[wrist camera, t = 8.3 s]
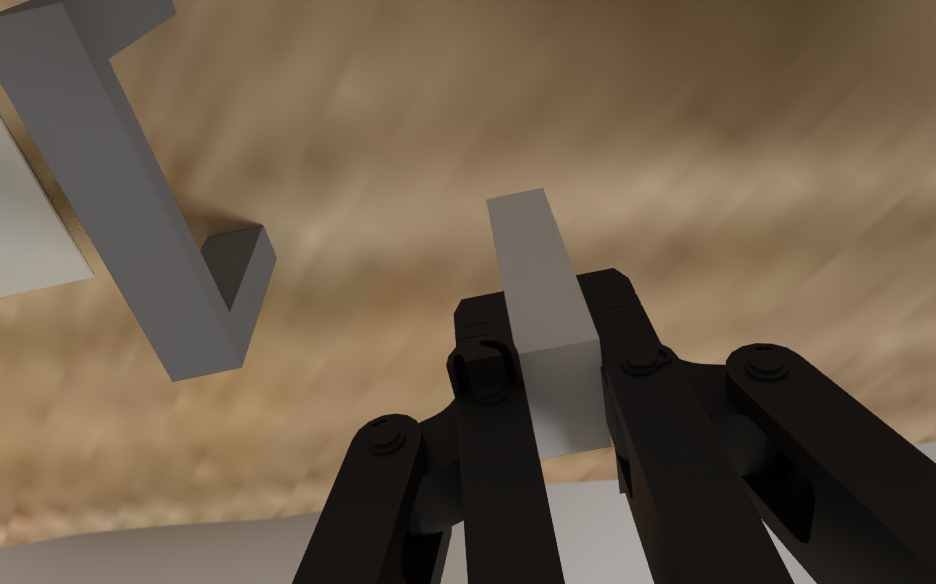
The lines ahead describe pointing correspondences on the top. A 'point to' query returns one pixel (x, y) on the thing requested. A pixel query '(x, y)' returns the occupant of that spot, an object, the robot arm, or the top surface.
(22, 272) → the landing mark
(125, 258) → the bridge
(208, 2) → the top surface
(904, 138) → the top surface
